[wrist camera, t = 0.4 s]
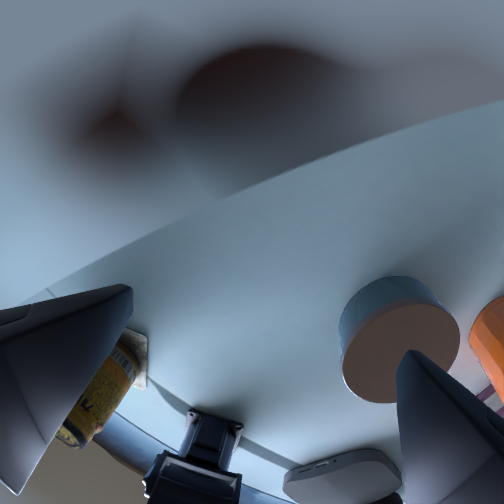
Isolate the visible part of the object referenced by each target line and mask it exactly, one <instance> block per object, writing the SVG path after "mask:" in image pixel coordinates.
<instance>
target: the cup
mask: <svg viewBox="0 0 504 504" xmlns="http://www.w3.org/2000/svg"><path fill="white" fill-rule="evenodd" d="M469 344H470V348H471V350H472V351H473V354H474V355H475V357H476V359H477V360H478V362H479V363H480V365H481V367H482V368H483V370H484V371H485V373H486V375H487V376H488V378H489V380H490V381H491V383H492V385H493V387H494V388H495V390H496V392H497V394H498V395H499V397H500V399H501V401H502V403H503V405H504V296H502V297H499V298H497V299H495V300H493V301H492V302H491V303H489V304H488V305H487V306H486V307H485V308H484V309H483V310H482V311H481V313H480V314H479V315H478V317H477V318H476V320H475V322H474V324H473V326H472V328H471V332H470V336H469Z"/></svg>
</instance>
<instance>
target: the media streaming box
mask: <svg viewBox="0 0 504 504" xmlns="http://www.w3.org/2000/svg"><path fill="white" fill-rule="evenodd" d="M401 486H402V478H401V472H400V471H399V469H398V468H397V467H396V466H395V464H394V463H393V462H392V461H391V460H390V459H389V458H388V457H387V456H386V455H385V454H384V453H382V452H381V451H378V450H372V449H364V450H356V451H352V452H349V453H346V454H343V455H339V456H336V457H333V458H330V459H327V460H323V461H320V462H317V463H313V464H310V465H307V466H303V467H300V468H297V469H293V470H291V471H289V472H287V473H286V474H285V476H284V481H283V491H284V493H285V494H286V495H287V496H289V497H290V498H291V499H293V500H294V501H296V502H297V503H299V504H369V503H372V502H374V501H377V500H379V499H382V498H384V497H386V496H388V495H390V494H392V493H393V492H395V491H396V490H398V489H399V488H400V487H401Z"/></svg>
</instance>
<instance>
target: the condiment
mask: <svg viewBox="0 0 504 504" xmlns="http://www.w3.org/2000/svg"><path fill="white" fill-rule="evenodd" d="M147 340H148V338H147V337H145V336H143V335H140V334H139V333H137V332H134V331H132V330H130V329H127V328H126V327H125V328H124V330H123V332H122V333H121V335H120V337H119V339H118V341H117V342H116V344H115V346H114V348H113V349H112V351H111V352H110V354H109V355H108V357H107V358H106V359H105V361H104V362H103V364H102V365H101V367H100V368H99V369H98V371H97V372H96V374H95V375H94V377H93V378H92V380H91V381H90V382H89V384H88V385H87V387H86V388H85V390H84V391H83V393H82V394H81V396H80V397H79V399H78V400H77V402H76V403H75V405H74V406H73V408H72V409H71V411H70V412H69V414H68V415H67V417H66V418H65V420H64V421H63V423H62V425H61V426H60V428H59V429H58V431H57V432H56V434H55V436H54V437H55V438H56V439H58V440H59V441H60V442H62V443H63V444H65V445H67V446H68V447H71V448H73V449H76V450H82V449H84V448H85V447H86V446H87V444H88V442H89V441H90V440H91V439H92V438H93V434H96V433H99V432H100V431H101V430H102V429H103V427H104V426H105V424H106V423H107V421H108V420H109V418H110V417H111V415H112V414H113V412H114V411H115V409H116V408H117V406H118V405H119V404H120V402H121V400H122V399H123V397H124V396H125V394H126V393H127V391H128V390H129V388H130V387H131V385H133V386H134V387H137V388H139V389H141V390H144V391H146V370H147V369H146V366H147V365H146V360H147Z"/></svg>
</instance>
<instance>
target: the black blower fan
mask: <svg viewBox="0 0 504 504" xmlns="http://www.w3.org/2000/svg"><path fill="white" fill-rule="evenodd" d="M369 504H403V502H402V499H401V497H400V495H399V494H398V493H396V492H393V493H392V494H390V495H388V496H386V497H384V498H382V499H379V500H377V501H374V502H372V503H369Z"/></svg>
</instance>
